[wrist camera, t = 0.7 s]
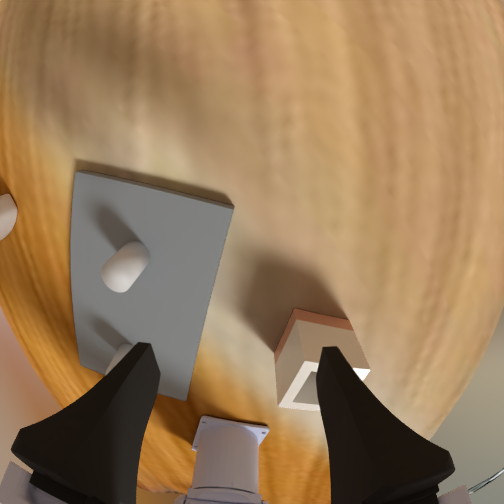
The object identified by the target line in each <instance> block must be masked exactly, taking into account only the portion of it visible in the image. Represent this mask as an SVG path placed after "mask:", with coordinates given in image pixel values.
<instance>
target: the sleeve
mask: <svg viewBox="0 0 504 504" xmlns="http://www.w3.org/2000/svg"><path fill="white" fill-rule="evenodd" d="M329 346H337V347H338V348H339V349H340V351H341V352H342V354H343V355H344V357H345V358H346V360H347V361H348V363H349V364H350V365H351V367H352V368H353V370H354V371H355V372H356V374H357V375H358V376H359V377H360V379H361V380H362V381H363V380H364V378H365V377H366V376H367V374H368V373H369V371H370V370H371V369H370V367H369V364H368V362H367V360H366V357H365V355H364V353H363V350H362V348H361V346H360V344H359V341H358V339H357V337H356V335H355V332H354V330H353V328H352V326H351V323H350V321H349V320H346V319H341V318H336V317H331V316H327V315H322V314H317V313H313V312H308V311H304V310H299V309H295V308H294V310H293V312H292V315H291V317H290V319H289V321H288V324H287V326H286V328H285V331H284V333H283V335H282V337H281V339H280V342H279V344H278V346H277V348H276V350H275V353H274V359H275V373H276V387H277V402H278V407H283V408H292V409H301V410H311V411H320V407H319V402H318V397H317V387H316V374H317V370H318V365H319V361H320V356H321V352H322V347H329Z"/></svg>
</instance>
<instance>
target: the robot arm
mask: <svg viewBox="0 0 504 504" xmlns="http://www.w3.org/2000/svg"><path fill="white" fill-rule="evenodd" d="M160 376H161V372H160V370H159V367H158V364H157V361H156V358H155V354H154V351H153V348H152V345H151V343H145V342H138V343H137V344H136V345H135V346H134V347H133V348H132V349H131V350H130V351H129V352H128V353H127V354H126V355H125V356H124V357H123V358H122V359H121V360H120V361H119V362H118V363H117V364H116V366H115V367H114V368H113V369H112V370H111V371H110V372H109V373H108V374H107V375H106V376H105V377H103V378H102V379H101V380H100V381H99V382H98V383H97V384H96V385H95V386H94V387H93V388H91V389H90V390H89V391H88V392H87V393H85V394H84V395H83V396H82V397H80V398H79V399H78V400H76V401H75V402H73V403H72V404H70V405H69V406H67V407H66V408H64V409H62V410H61V411H59V412H58V413H56V414H54V415H52V416H50V417H48V418H46V419H44V420H42V421H40V422H38V423H35V424H32V425H30V426H27V427H24V428H22V429H20V431H19V433H18V435H17V437H16V439H15V441H14V443H13V445H12V448H11V451H12V453H13V454H14V455H15V456H16V457H18V458H19V459H20V460H21V461H22V462H24V463H25V464H26V465H28V466H29V467H30V468H31V469H33V470H34V471H33V474H30V473H29V472H28V471H26V470H24V469H23V468H21V467H20V466H18V465H16V464H15V463H13V462H12V461H11V462H10V463H9V465H8V468H7V470H6V472H5V475H4V477H3V480H2V482H1V485H0V502H1V503H2V504H136V487H137V474H138V466H139V458H140V452H141V446H142V441H143V437H144V433H145V430H146V427H147V424H148V420H149V417H150V414H151V411H152V408H153V405H154V402H155V399H156V396H157V392H158V387H159V382H160ZM316 387H317V397H318V402H319V407H320V411H321V416H322V420H323V425H324V429H325V434H326V438H327V444H328V451H329V462H330V478H331V504H471V501H470V498H469V494H468V491H467V488H466V485H462V486H461V487H458V488H456V489H454V490H452V491H450V492H448V493H446V494H444V495H442V496H440V497H438V498H437V495H436V493H437V492H438V491H439V488H438V484H439V483H440V482H442V481H443V480H445V479H446V478H448V477H449V476H450V475H451V474H452V473H453V472H454V471H455V467H454V464H453V461H452V458H451V456H450V453H449V451H447V450H445V449H443V448H441V447H439V446H437V445H435V444H433V443H431V442H430V441H428V440H426V439H425V438H423V437H422V436H420V435H419V434H417V433H416V432H414V431H413V430H412V429H410V428H409V427H408V426H406V425H405V424H404V423H402V422H401V421H400V420H399V419H398V418H397V417H395V416H394V415H393V414H392V413H391V412H390V411H389V410H388V409H387V408H386V407H385V406H384V405H383V404H382V403H381V402H380V401H379V400H378V399H377V398H376V397H375V396H374V394H373V393H372V392H371V391H370V390H369V389H368V388H367V386H366V385H365V384H364V383H363V381H362V380H361V379H360V377H359V376H358V375H357V374H356V372H355V371H354V370H353V368H352V367H351V365H350V364H349V363H348V361H347V360H346V358H345V357H344V355H343V354H342V352H341V351H340V349H339V348H338V347H337V346H329V347H322V352H321V356H320V361H319V365H318V370H317V374H316ZM268 432H269V427H267V426H260V425H253V424H247V423H241V422H235V421H229V420H224V419H219V418H214V417H209V416H202V417H201V419H200V422H199V425H198V429H197V432H196V435H195V438H194V442H193V445H192V450H194V451H197V454H196V460H195V467H194V474H193V480H192V487H191V488H188V493H187V495H186V494H181V495H180V496H178V497H177V498H176V499H175V501H174V504H269V503H268V502H267V501H261V494H258V446H259V445H260V443H261V442H262V441H263V439H264V438H265V436H266V435H267V433H268Z"/></svg>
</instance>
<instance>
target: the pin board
mask: <svg viewBox="0 0 504 504" xmlns="http://www.w3.org/2000/svg"><path fill="white" fill-rule="evenodd" d="M234 207H235V206H232V205H228V204H224V203H221V202H217V201H213V200H209V199H205V198H202V197H198V196H194V195H190V194H186V193H182V192H178V191H174V190H170V189H166V188H162V187H157V186H153V185H149V184H145V183H140V182H136V181H132V180H127V179H123V178H118V177H114V176H109V175H105V174H100V173H95V172H91V171H86V170H80V171H76V172H75V180H74V189H73V200H72V215H71V244H70V260H71V288H72V303H73V314H74V324H75V332H76V340H77V346H78V353H79V359H80V364H81V365H82V366H84V367H86V368H89V369H91V370H93V371H96V372H98V373H101V374H103V375H107V374H108V373H109V372H110V371H111V370H112V369H113V368H114V367H115V366H116V364H117V363H118V362H119V361H120V360H121V359H122V358H123V357H124V356H125V355H126V354H127V353H128V352H129V351H130V350H131V349H132V348H133V347H134V346H135V345H136V344H137V343H138V342H145V343H151V345H152V348H153V351H154V354H155V358H156V361H157V364H158V367H159V370H160V372H161V376H160V382H159V387H158V392H157V393H158V394H161V395H165V396H168V397H172V398H175V399H179V400H183V401H186V400H187V395H188V391H189V386H190V382H191V377H192V373H193V369H194V364H195V360H196V356H197V351H198V347H199V343H200V339H201V334H202V330H203V326H204V322H205V318H206V314H207V310H208V306H209V302H210V298H211V294H212V290H213V286H214V282H215V278H216V274H217V270H218V266H219V262H220V259H221V255H222V251H223V247H224V243H225V240H226V236H227V232H228V229H229V225H230V221H231V217H232V214H233V210H234Z"/></svg>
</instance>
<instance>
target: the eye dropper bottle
mask: <svg viewBox="0 0 504 504" xmlns="http://www.w3.org/2000/svg"><path fill="white" fill-rule="evenodd" d="M17 213H18V210H17V207H16V205H15V203H14V201H13V199H12V197H11V196H10V194H4V195H1V196H0V240H2V239H3V238H5V237H6V236H7V235H8V234H9V233H10V232H11V230H12V229H13V227H14V224H15V221H16V218H17Z"/></svg>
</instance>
